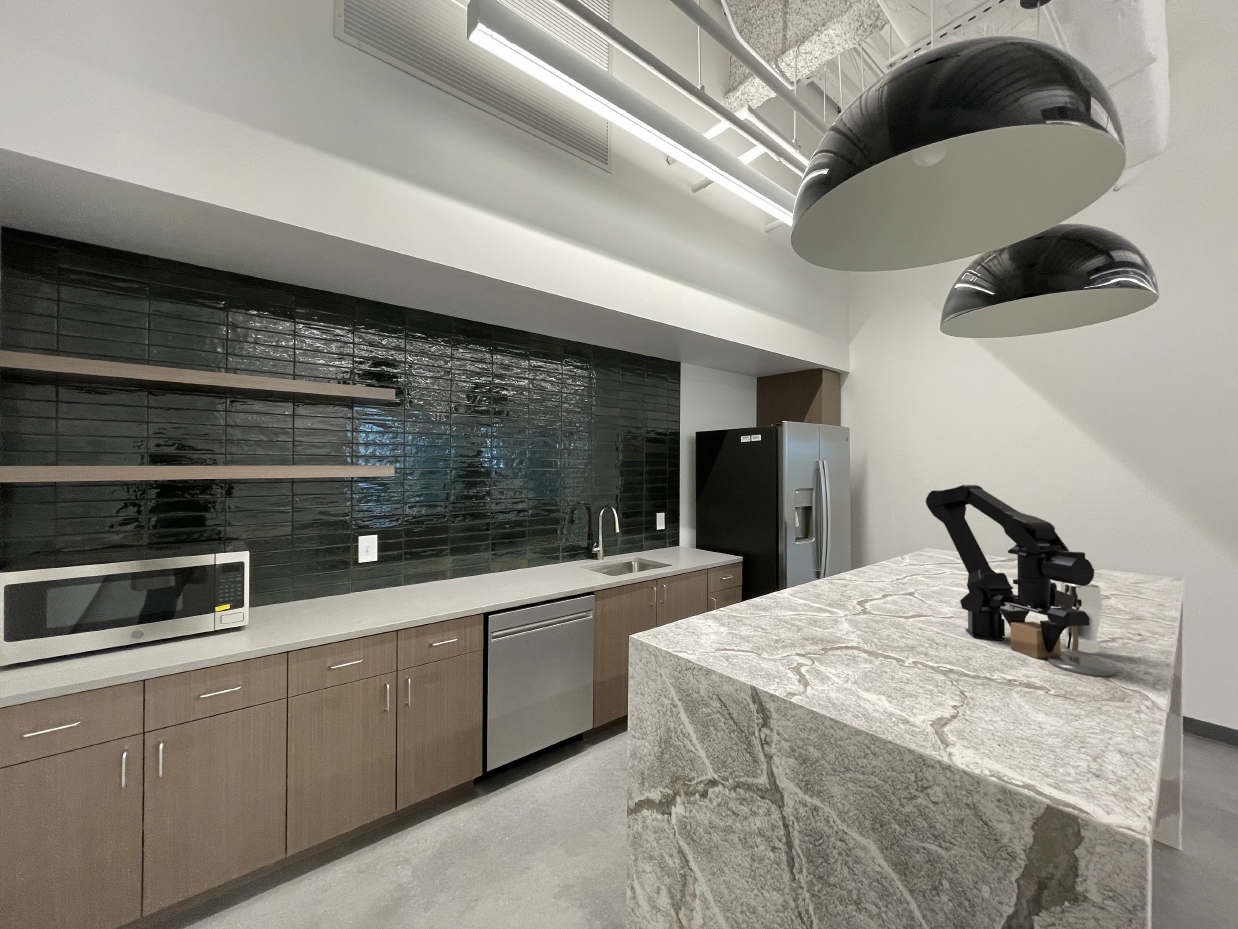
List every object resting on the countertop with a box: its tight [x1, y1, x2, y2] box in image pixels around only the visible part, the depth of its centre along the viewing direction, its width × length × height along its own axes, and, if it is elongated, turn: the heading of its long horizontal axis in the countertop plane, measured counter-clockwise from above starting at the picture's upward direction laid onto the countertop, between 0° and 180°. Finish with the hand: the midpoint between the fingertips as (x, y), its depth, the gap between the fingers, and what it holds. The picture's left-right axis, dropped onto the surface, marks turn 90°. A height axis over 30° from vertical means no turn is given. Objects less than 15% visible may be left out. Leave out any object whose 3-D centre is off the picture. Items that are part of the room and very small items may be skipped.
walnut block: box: [1010, 621, 1061, 659], centre depth 111 cm, size 6×6×6 cm
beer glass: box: [1060, 582, 1103, 656], centre depth 113 cm, size 7×7×15 cm
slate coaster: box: [1048, 655, 1116, 678], centre depth 103 cm, size 10×10×1 cm
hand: (1035, 647), depth 111 cm, fingers closed on walnut block, 6 cm apart
